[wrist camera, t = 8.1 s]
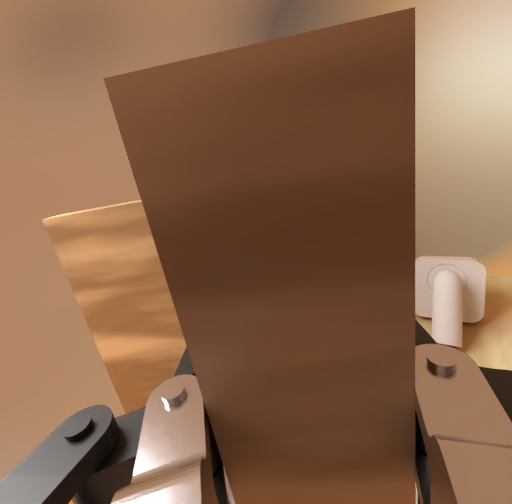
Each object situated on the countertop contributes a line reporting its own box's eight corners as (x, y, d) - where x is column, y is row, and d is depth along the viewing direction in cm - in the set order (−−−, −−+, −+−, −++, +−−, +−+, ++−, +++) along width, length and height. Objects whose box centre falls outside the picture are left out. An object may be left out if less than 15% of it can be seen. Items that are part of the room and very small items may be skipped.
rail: (275, 449, 15) (204, 128, 10) (351, 442, 14) (317, 105, 9) (282, 657, 9) (103, 78, 4) (415, 652, 8) (414, 7, 3)
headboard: (146, 426, 31) (60, 214, 23) (290, 410, 29) (248, 180, 22) (72, 592, 19) (-152, 273, 11) (307, 580, 17) (227, 206, 10)
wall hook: (406, 347, 34) (408, 267, 33) (412, 319, 43) (413, 255, 41) (492, 363, 30) (497, 271, 28) (479, 328, 38) (482, 257, 37)
